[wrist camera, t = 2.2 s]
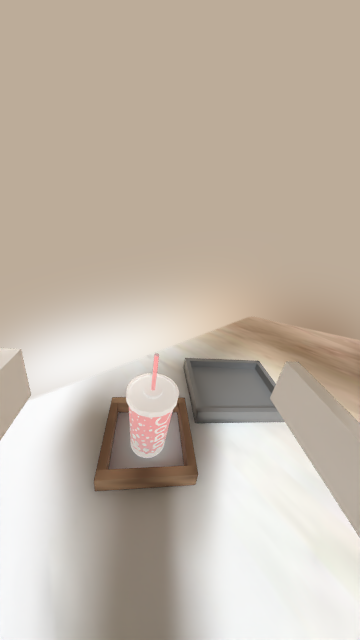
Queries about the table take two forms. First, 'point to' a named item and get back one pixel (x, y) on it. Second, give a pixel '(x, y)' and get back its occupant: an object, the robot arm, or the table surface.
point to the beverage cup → (150, 410)
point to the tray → (230, 391)
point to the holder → (151, 475)
